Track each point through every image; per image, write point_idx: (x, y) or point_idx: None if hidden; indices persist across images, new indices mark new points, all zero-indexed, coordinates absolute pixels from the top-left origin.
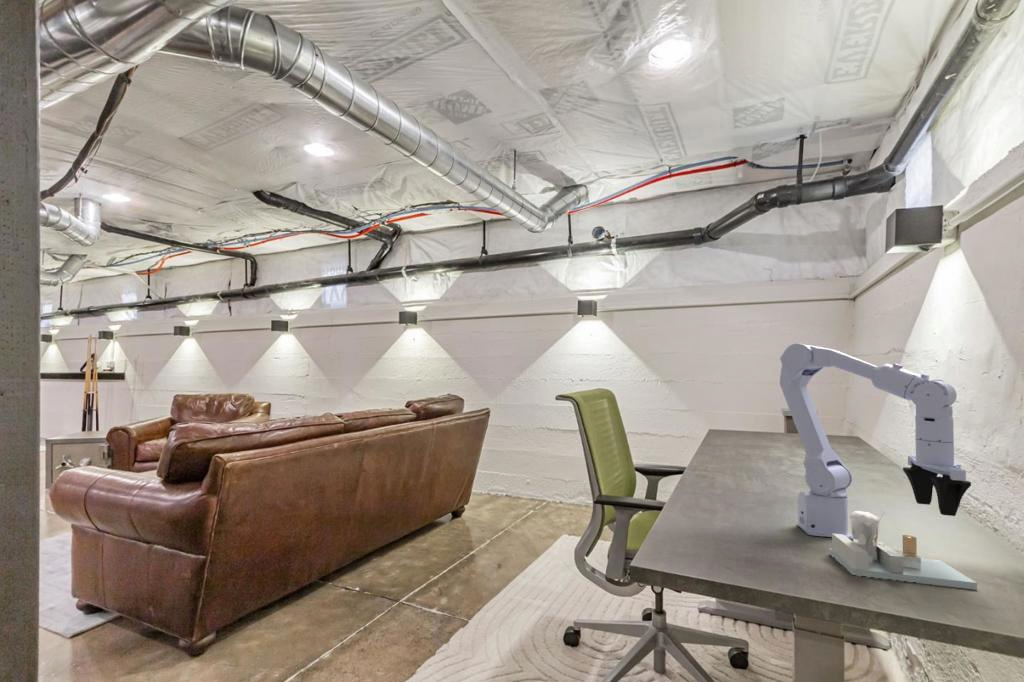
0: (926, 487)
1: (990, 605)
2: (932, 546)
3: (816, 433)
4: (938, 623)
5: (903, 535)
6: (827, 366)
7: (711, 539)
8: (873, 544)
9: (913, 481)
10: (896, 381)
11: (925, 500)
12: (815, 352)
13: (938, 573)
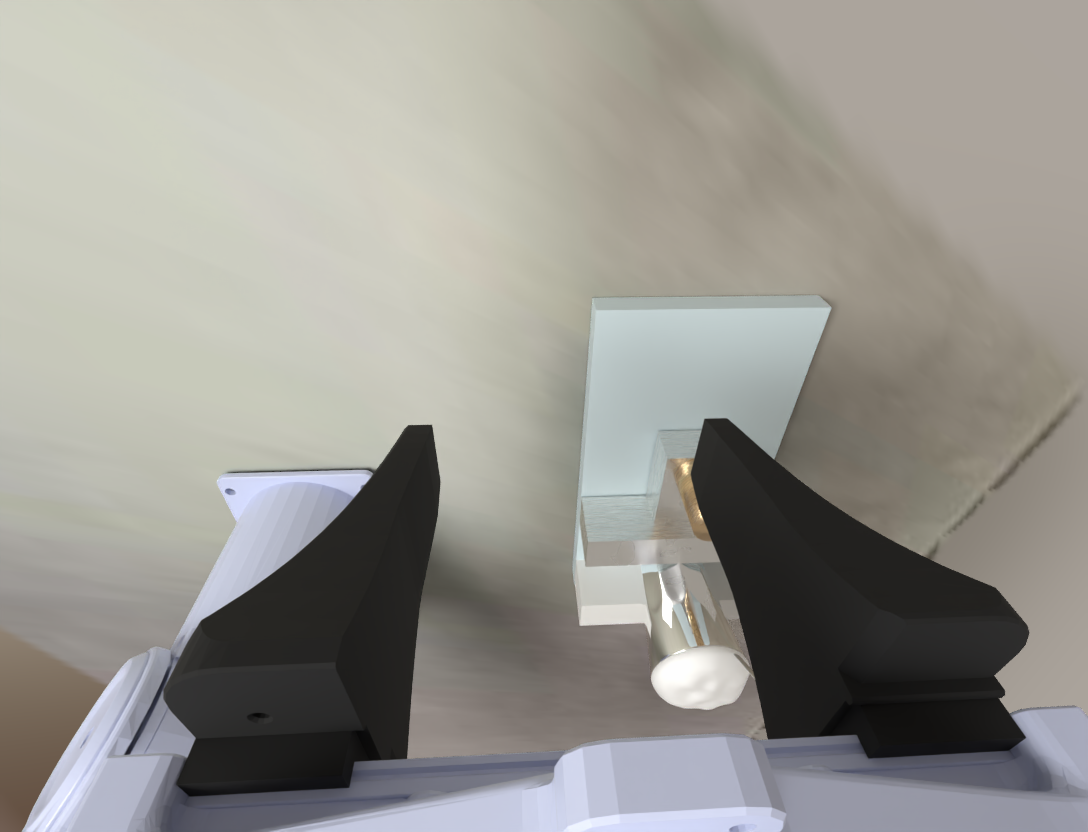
0: (407, 546)
1: (930, 329)
2: (252, 154)
3: None
4: (982, 503)
5: (700, 537)
6: None
7: (542, 718)
8: (712, 586)
9: (413, 651)
10: None
11: (430, 468)
12: None
13: (747, 391)
